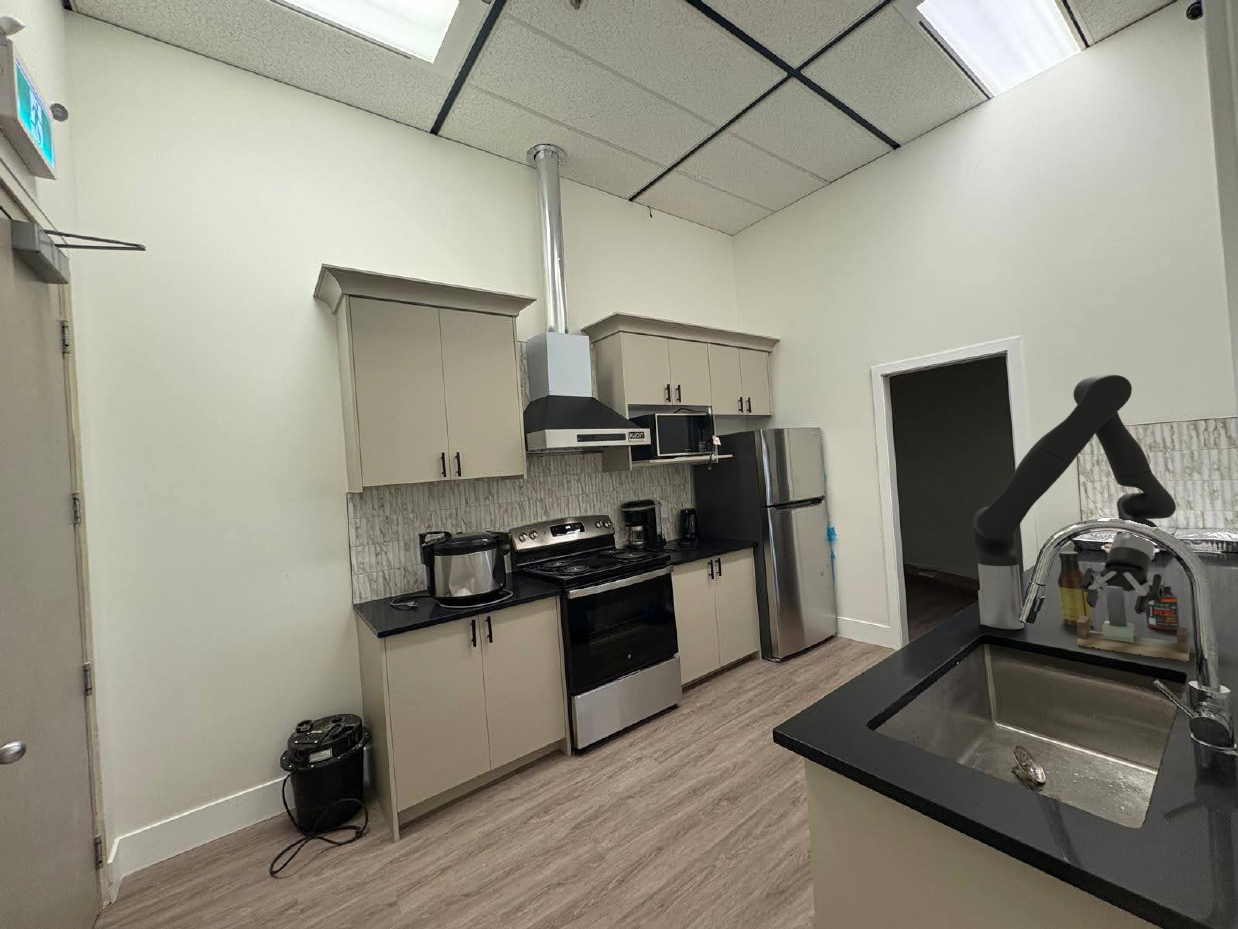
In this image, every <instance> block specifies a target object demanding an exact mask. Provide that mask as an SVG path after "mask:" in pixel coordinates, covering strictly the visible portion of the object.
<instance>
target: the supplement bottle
mask: <svg viewBox="0 0 1238 929" xmlns="http://www.w3.org/2000/svg"><path fill="white" fill-rule="evenodd" d="M1151 589H1152V585H1151V583H1150V582H1149V583H1148V590H1147V591H1145V592H1146V593H1150V592H1151ZM1178 603H1179V602H1178V597H1177V595H1176V594H1175V593H1173V592H1172V586H1171V585H1170V584H1166V583H1165V585H1164V591H1163V597H1162V601H1156V600H1153V601H1150V602H1149V603H1148V607H1147V611H1146V612H1145V616H1146V618H1145V619H1146V625H1147V627H1149V628H1152V629H1155V630H1161V631H1177V630H1178V627H1181V626H1180V615H1179V614H1180V613H1179V604H1178Z"/></svg>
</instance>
